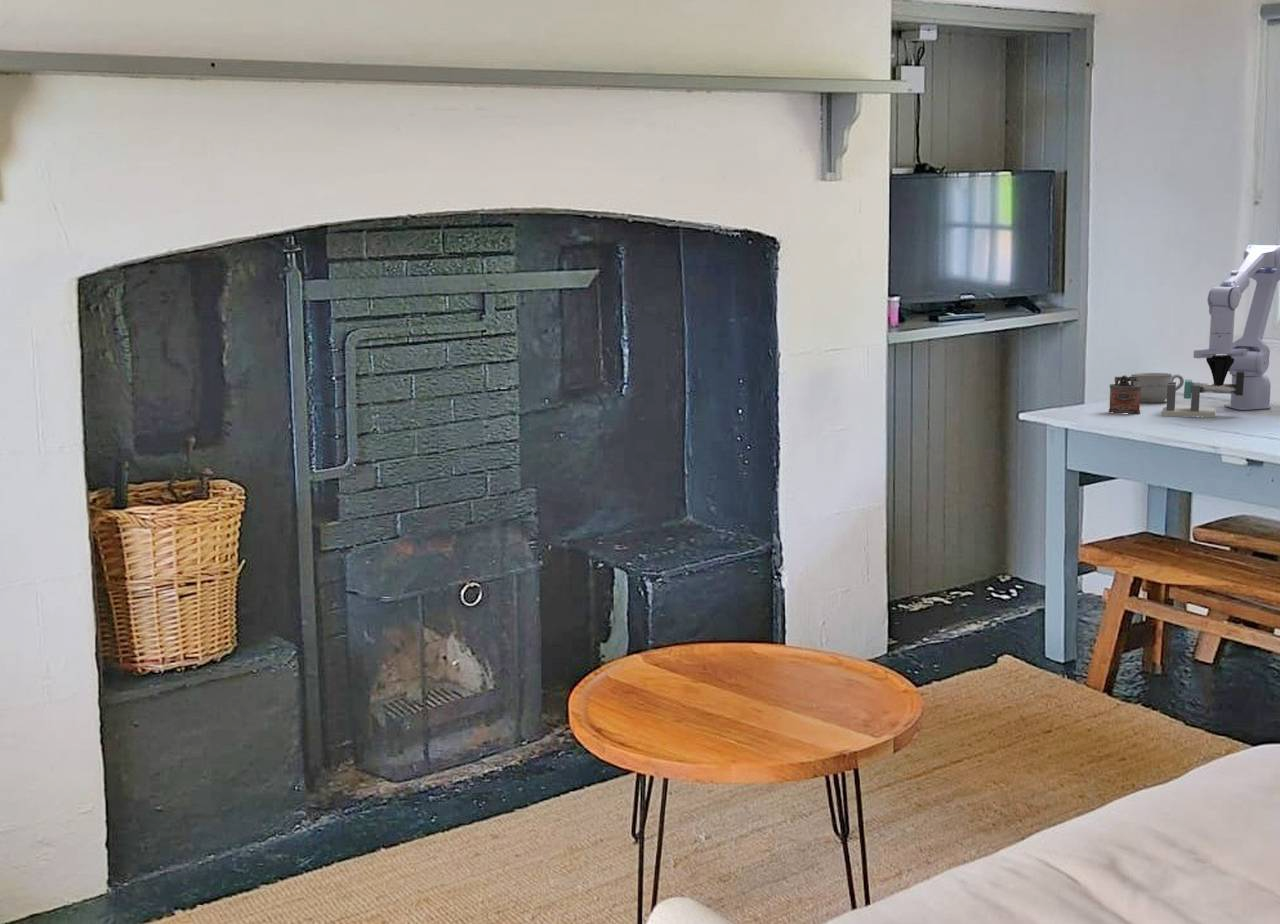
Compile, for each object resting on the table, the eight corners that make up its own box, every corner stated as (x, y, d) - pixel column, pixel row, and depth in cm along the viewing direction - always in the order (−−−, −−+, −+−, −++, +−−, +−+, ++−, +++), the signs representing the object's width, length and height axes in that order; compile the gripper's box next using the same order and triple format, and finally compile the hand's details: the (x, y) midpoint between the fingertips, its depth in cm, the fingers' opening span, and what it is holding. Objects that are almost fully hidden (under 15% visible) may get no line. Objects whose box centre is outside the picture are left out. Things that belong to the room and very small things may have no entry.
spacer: (1190, 396, 412) (1192, 379, 411) (1190, 398, 408) (1192, 382, 407) (1183, 396, 412) (1184, 379, 411) (1183, 398, 408) (1184, 381, 407)
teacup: (1130, 404, 430) (1131, 375, 428) (1130, 398, 440) (1131, 370, 438) (1183, 405, 426) (1185, 376, 424) (1182, 399, 436) (1183, 371, 434)
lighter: (1107, 413, 415) (1108, 375, 413) (1110, 411, 418) (1111, 374, 416) (1138, 414, 411) (1140, 377, 409) (1141, 413, 414) (1142, 375, 412)
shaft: (1242, 394, 406) (1243, 371, 405) (1242, 395, 404) (1244, 372, 403) (1187, 392, 411) (1188, 370, 410) (1187, 394, 409) (1188, 371, 407)
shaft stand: (1214, 412, 413) (1216, 382, 411) (1214, 417, 404) (1216, 386, 403) (1162, 410, 417) (1164, 381, 415) (1162, 415, 409) (1163, 385, 407)
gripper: (1236, 330, 410) (1233, 382, 412) (1187, 332, 406) (1184, 384, 409) (1253, 333, 403) (1250, 385, 406) (1203, 334, 400) (1200, 387, 402)
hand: (1218, 385), depth 407 cm, fingers closed, pressing on shaft
